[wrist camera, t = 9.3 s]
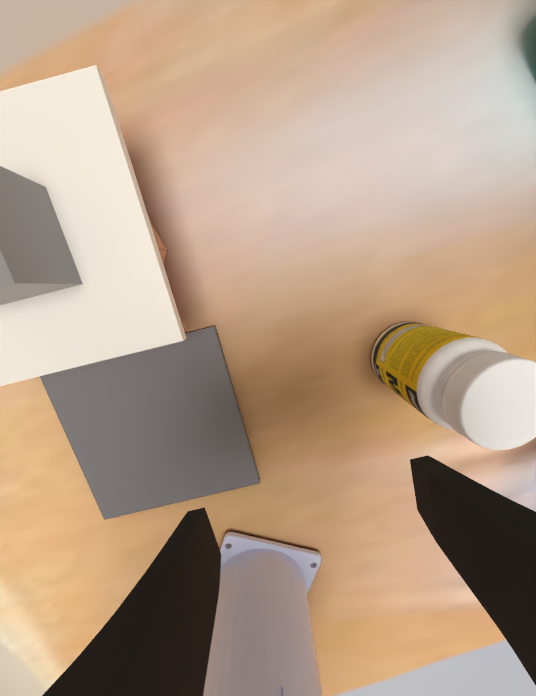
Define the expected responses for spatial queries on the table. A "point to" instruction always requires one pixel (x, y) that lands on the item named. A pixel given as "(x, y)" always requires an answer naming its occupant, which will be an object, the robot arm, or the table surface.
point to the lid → (74, 234)
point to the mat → (155, 425)
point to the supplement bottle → (460, 382)
